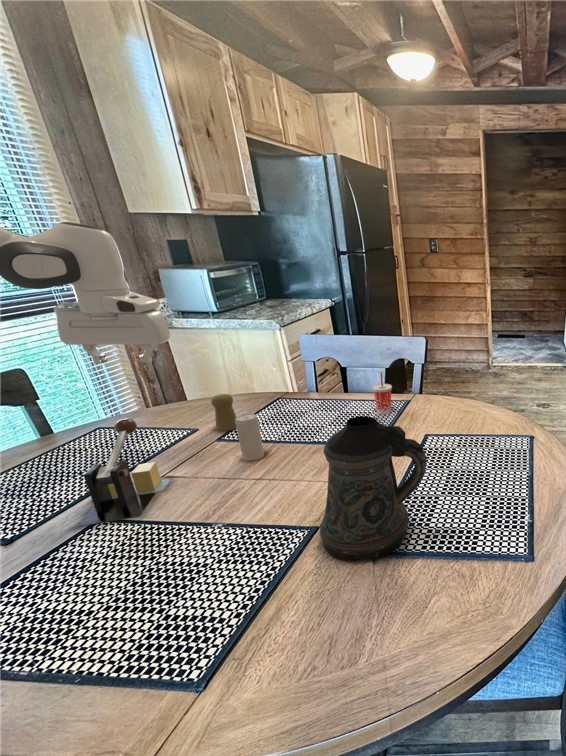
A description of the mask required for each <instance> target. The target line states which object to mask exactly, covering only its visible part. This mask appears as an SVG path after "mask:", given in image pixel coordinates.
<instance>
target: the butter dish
mask: <svg viewBox="0 0 566 756" xmlns="http://www.w3.org/2000/svg"><path fill="white" fill-rule="evenodd" d="M170 481H171V478H165V479H161V482H160V484H159V485H158V486H157V488H156V489H155V490H152V491H146V492H139V493H137V490H136V487H135V484H134V483H133V485H134V489H135V492H136V495H142V494H148V493H155V492H161V491H164V489H165V488H166V487H167V485H168V483H170ZM112 498H113V499H116V498H118V496H112Z"/></svg>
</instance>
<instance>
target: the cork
mask: <svg viewBox="0 0 566 756" xmlns="http://www.w3.org/2000/svg"><path fill="white" fill-rule="evenodd" d="M210 403H211V405H212V406H213V407H214V415H215V430H216V431H217V432H230V431H234V430H237V428H236V423H235V421H236V418H237V417H238V416H237V414H236V412H235V409H234V407H233V403H234V399H233V396H232V395H231V394H228V393H219V394H216V395H214V396H212V397H211V401H210Z"/></svg>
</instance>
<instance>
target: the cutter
mask: <svg viewBox="0 0 566 756" xmlns="http://www.w3.org/2000/svg"><path fill="white" fill-rule="evenodd" d="M100 467H103V465H102V463H95V464H93V465H92V466H91V467H90V468H89V469H88V470H87V471H86V472H85V473H84V474H83V478H84V481H85V484H86V486H87V489H88V491H89V492H88V493H89V495H90V498H91V501H92V503H93V507H92V508H91V509H90V510H89V511H88V513H87V514H86V515H85V516H84V517H83V519H82V520H81V521H79V523H78V524H77V525H76V528H80V527H85V526H92V525H97V524H103V523H110V522H115V521H121V520H128V519H131V518H132V519H133V518H139V517H141V516H142V514H143V513H144V512H145V510H146V509H147V507H148V506H149V505H150V503H151V501H152V500H153V499H154V497H155V495H156V494H157V492H158V491H155V492H148V493H142V494H136V492H135V489H134V485H133V484H134V481H133V478H132V475H131V472H130V469H129V467H128V464H127V460H118V461H117V464H116V465H115V466H114V467H113V469H112V470H111V471H110V474H111V477H112V480H113V483H114V486H115V489H116V492H117V495H118V497H115V498H112V495H111V492H110V489H109V486H108V484H106V485H101V484H100V483H99V482H98V480H97V479H96V477H97V474H98V472H99V469H100Z"/></svg>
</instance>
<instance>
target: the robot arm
mask: <svg viewBox="0 0 566 756" xmlns="http://www.w3.org/2000/svg"><path fill="white" fill-rule="evenodd" d="M124 268H125V267H124V263H123V260H122V256H121V254H120V250H119V248H118V245H117V243H116V241H115V239H114V237H113V235H112V234H111V233H110V232H108V231H107V230H105V229H103V228H102V227H98V226H95V225H90V224H83V223H77V222H72V221H62V222H58V223H57V224H55V226H52V227H51V228H48V229H46V230H44V231H41V232H39V233H36V234H33V235H25V234H19V233H18V232H14V231H11V230H9V229H6V228H4V227H2V226H0V277H1V278H2V279H3V280H5V281H6V282H7V283H10V284H12V285H14V286H16V287H19V288H22V289H25V290H26V289H28V290H32V291H44V290H50V289H54V288H56V287H57V288H58V287H62V286H71V287H72V289H73V292H74V295H75V299H76V301H70V302H68V301H59V303H57V304H56V305H55V307H54V308H53V311H54V314H55V317H56V318H55V319H56V328H57V332H58V333H57V334H58V336H59V340H60V341H61V342H62V343H63V344H65V345H67V346H70V345H71V346H73V345H74V346H75V345H76V346H78V345H79V346H82V349H83V351H85V352H86V353H87V354H88V355H89V356H90V357H92V360H93V363H94V364H105V363H107V362H108V358H107V355H106V354H102V353H101V352H100V351H99V349H97V347H98V346H100V345H101V346H102V345H105V346H107V345H140V347H141V349H142V350H144V351H143V353H142V354H141V355H138V359H139V363H141V364H150V363H152V362H153V356H152V354H153V352H154V349H155V348H156V347H155V345H162V344H165V343H167V342H169V340H170V338H171V332H170V328H169V326H168V323H167V320H166V318H165V315H164V314H163V313H162V312H161V311H160V310H159V308H160V302H159V300H158V299H156V298H154V297H151V296H150V297H149V296H146V295H142V294H139V293H136V292H134V291H131V289H130V285H129V283H128V282H127V281H126V279H125V274H124V271H125V270H124Z"/></svg>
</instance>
